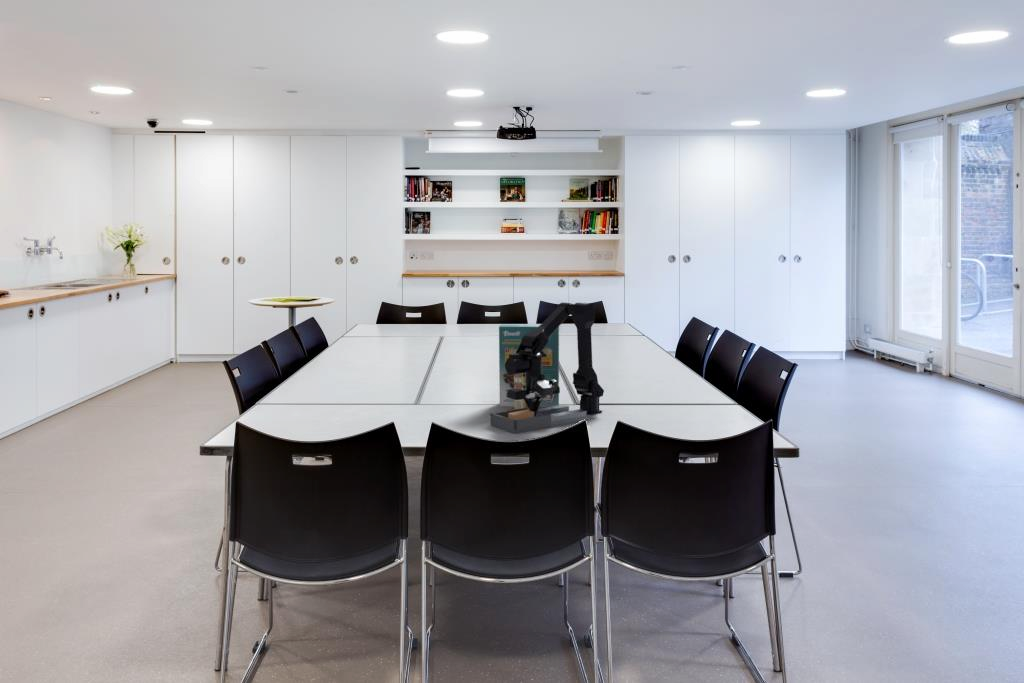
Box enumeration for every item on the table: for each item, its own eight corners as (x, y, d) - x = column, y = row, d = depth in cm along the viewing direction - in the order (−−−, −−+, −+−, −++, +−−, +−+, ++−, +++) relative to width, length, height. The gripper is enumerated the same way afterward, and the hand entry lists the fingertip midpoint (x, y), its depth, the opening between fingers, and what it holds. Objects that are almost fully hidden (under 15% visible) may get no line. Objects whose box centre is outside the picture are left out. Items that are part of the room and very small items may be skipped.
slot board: (561, 413, 303) (561, 404, 303) (587, 420, 292) (587, 411, 292) (526, 419, 294) (526, 410, 294) (551, 426, 283) (551, 417, 282)
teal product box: (558, 403, 319) (559, 325, 315) (558, 407, 313) (558, 327, 309) (501, 402, 321) (500, 324, 317) (499, 406, 315) (499, 326, 311)
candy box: (523, 412, 305) (523, 370, 303) (513, 411, 307) (513, 369, 305) (535, 407, 313) (535, 366, 310) (525, 406, 315) (525, 366, 312)
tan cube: (517, 421, 286) (517, 411, 285) (524, 423, 282) (524, 413, 282) (508, 423, 283) (508, 413, 283) (515, 425, 280) (514, 415, 280)
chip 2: (527, 419, 288) (527, 409, 287) (534, 422, 285) (534, 411, 284) (517, 421, 286) (517, 411, 285) (524, 423, 282) (524, 413, 282)
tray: (526, 419, 294) (526, 407, 293) (551, 426, 283) (551, 414, 282) (490, 425, 285) (490, 413, 285) (515, 433, 274) (514, 421, 274)
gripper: (525, 377, 273) (526, 424, 275) (570, 371, 284) (570, 416, 286) (505, 373, 282) (506, 418, 284) (549, 366, 293) (549, 410, 295)
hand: (533, 416), depth 287 cm, fingers closed
